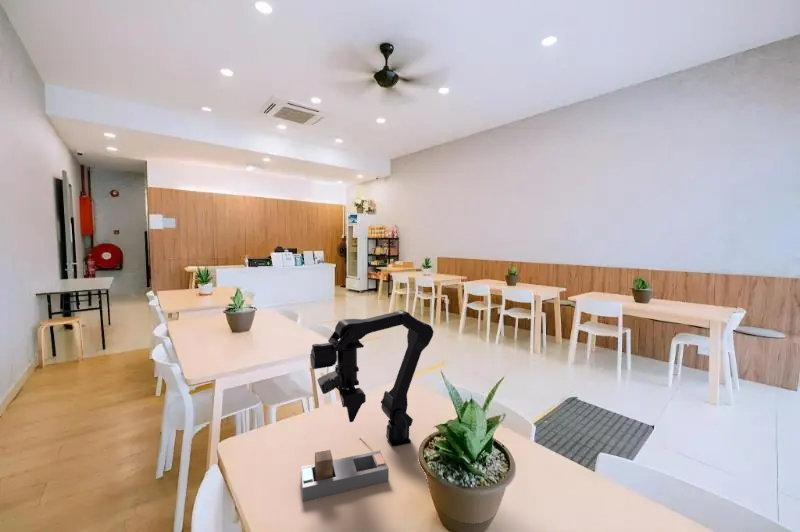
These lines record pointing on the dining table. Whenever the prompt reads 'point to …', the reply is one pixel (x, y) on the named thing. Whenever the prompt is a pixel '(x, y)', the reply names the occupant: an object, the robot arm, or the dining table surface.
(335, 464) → the socket strip
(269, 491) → the dining table surface
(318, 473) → the brown wooden block
